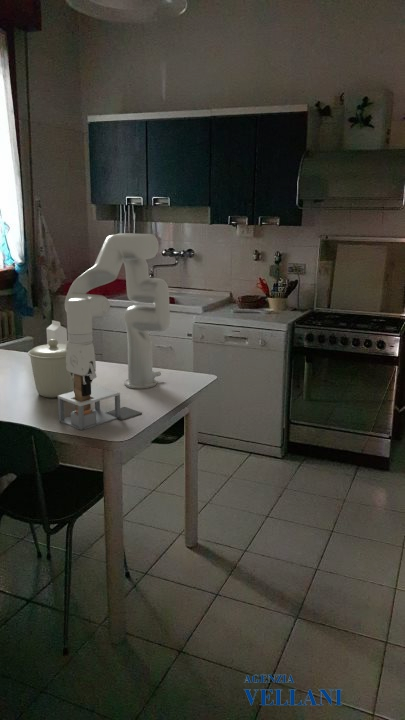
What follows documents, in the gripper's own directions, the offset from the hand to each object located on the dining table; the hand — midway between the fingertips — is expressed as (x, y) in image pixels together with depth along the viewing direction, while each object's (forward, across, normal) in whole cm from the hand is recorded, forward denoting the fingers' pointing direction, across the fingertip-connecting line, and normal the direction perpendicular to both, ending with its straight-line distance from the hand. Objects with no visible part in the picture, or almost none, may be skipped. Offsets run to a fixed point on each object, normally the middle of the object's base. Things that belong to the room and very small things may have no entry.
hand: (82, 393), depth 187 cm
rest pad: (+10, +2, +15) cm, 18 cm away
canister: (+11, -33, +12) cm, 37 cm away
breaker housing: (+10, -2, +4) cm, 11 cm away
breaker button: (+9, 0, 0) cm, 9 cm away
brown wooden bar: (+5, 0, 0) cm, 5 cm away
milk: (+11, -57, +30) cm, 65 cm away
